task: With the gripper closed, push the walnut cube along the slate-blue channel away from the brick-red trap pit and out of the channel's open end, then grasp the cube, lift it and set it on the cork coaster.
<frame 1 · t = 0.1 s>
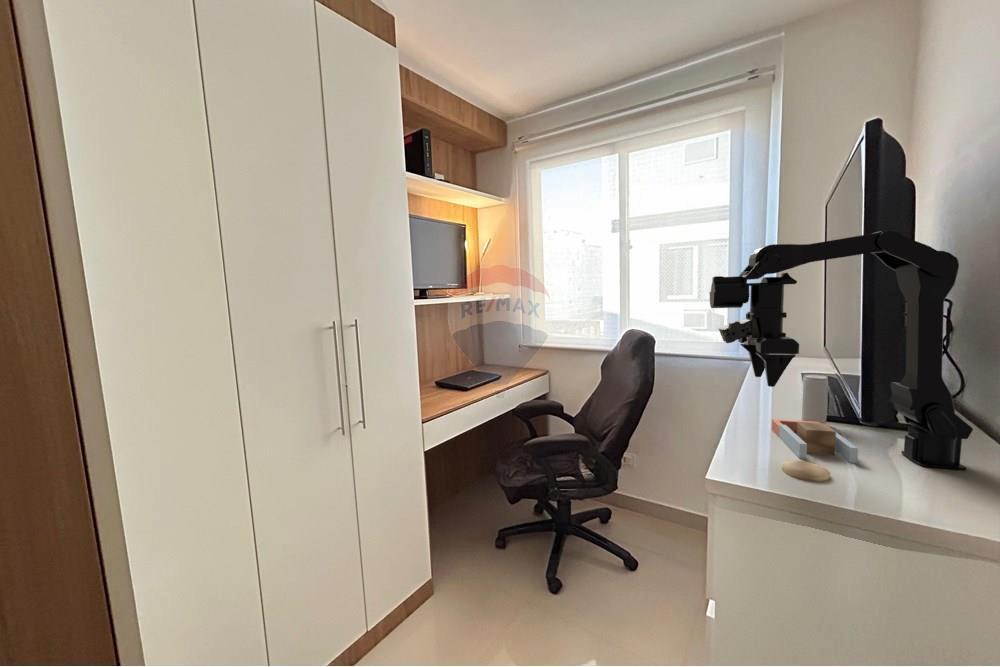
hand: (764, 381, 84), 15 cm above the dresser top, fingers open, 9 cm apart
cork coaster: (805, 472, 74), on the dresser top
beverage can: (813, 424, 99), on the dresser top
walnut block: (814, 449, 84), on the dresser top
channel: (814, 449, 84), on the dresser top
trap pit: (799, 435, 92), on the dresser top
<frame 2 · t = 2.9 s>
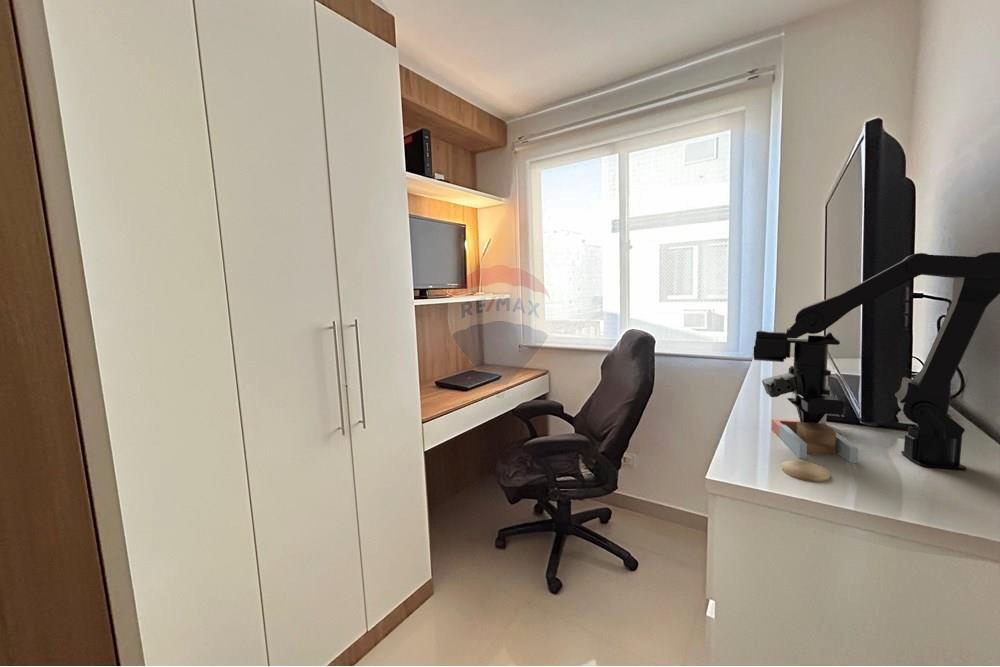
hand: (806, 433, 88), 2 cm above the dresser top, fingers closed
walnut block: (814, 449, 84), on the dresser top, touching gripper
everything else where it was.
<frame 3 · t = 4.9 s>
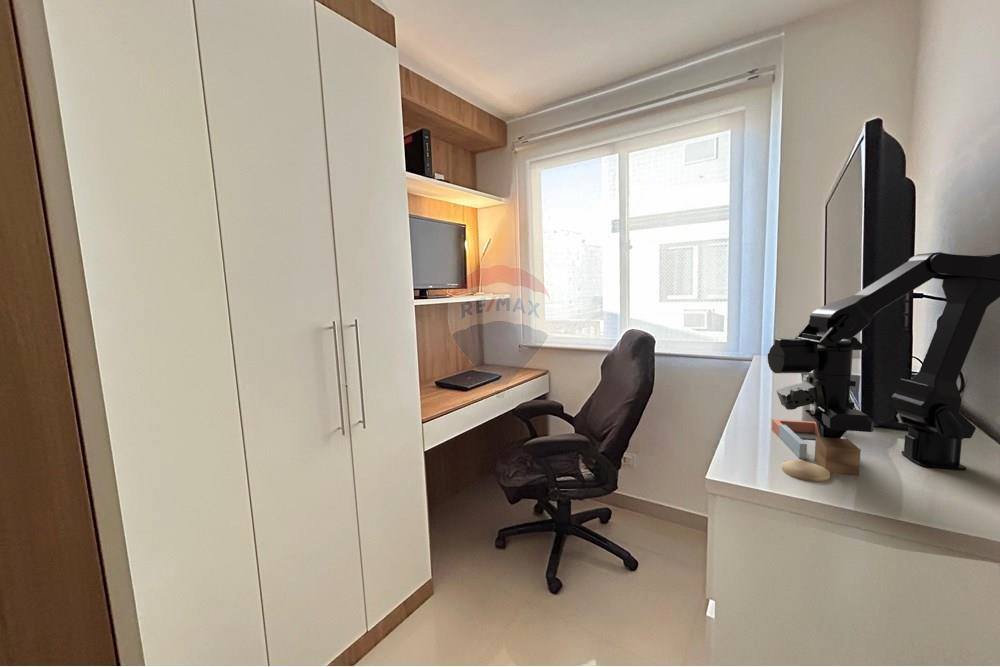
hand: (827, 450, 79), 2 cm above the dresser top, fingers closed
walnut block: (835, 468, 75), on the dresser top, touching cork coaster, gripper
everything else where it was.
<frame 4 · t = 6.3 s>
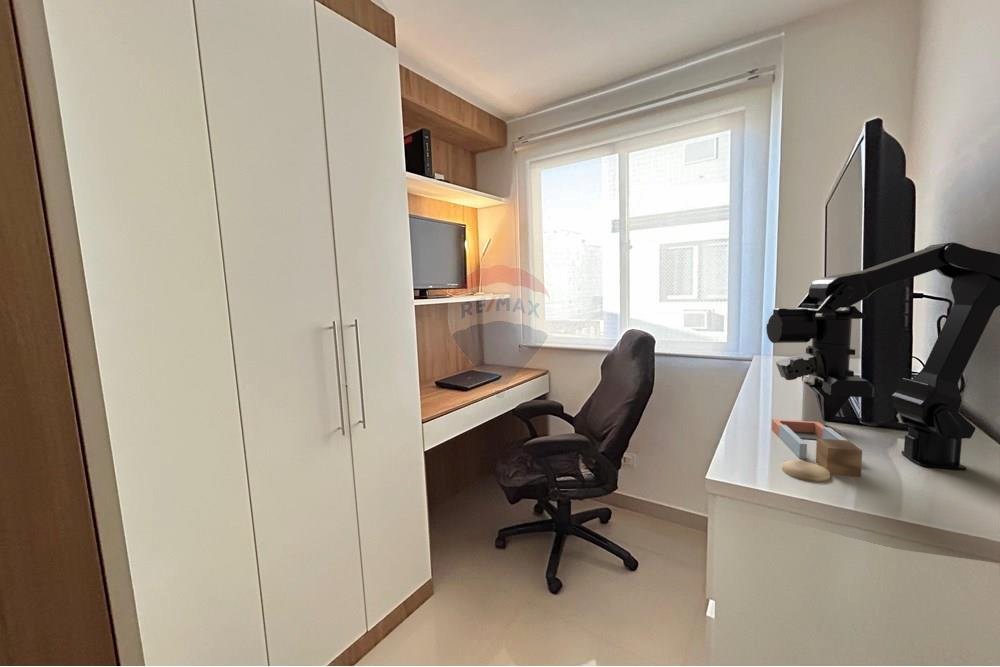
hand: (826, 421, 78), 8 cm above the dresser top, fingers closed
walnut block: (837, 469, 75), on the dresser top
everything else where it was.
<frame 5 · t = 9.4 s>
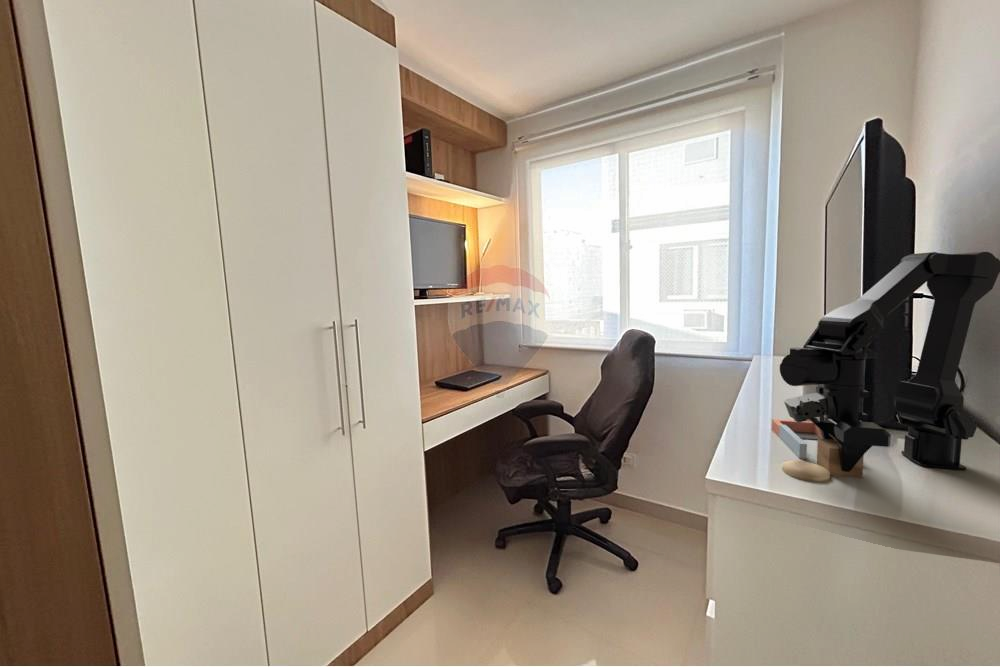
hand: (838, 465, 74), 1 cm above the dresser top, fingers closed on walnut block, 5 cm apart
walnut block: (838, 470, 74), on the dresser top, touching gripper
everything else where it was.
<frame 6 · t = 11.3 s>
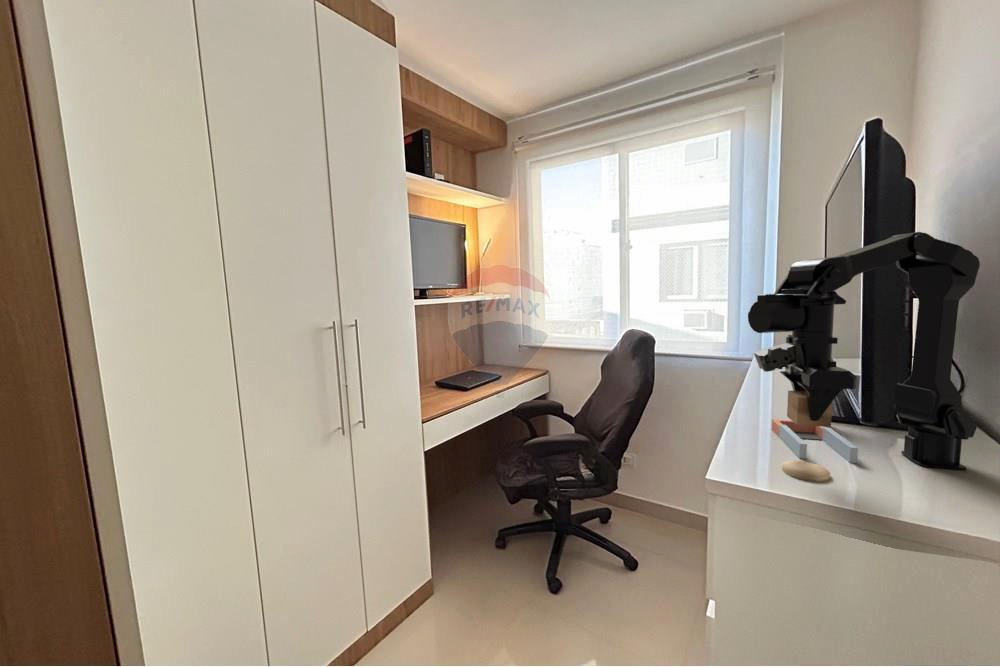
hand: (808, 415, 73), 11 cm above the dresser top, fingers closed on walnut block, 5 cm apart
walnut block: (807, 421, 73), point 10 cm above the dresser top, touching gripper
everything else where it was.
when the fingers open (3 cm above the dresser top, at t = 13.0 s): walnut block drops 1 cm, resting on cork coaster.
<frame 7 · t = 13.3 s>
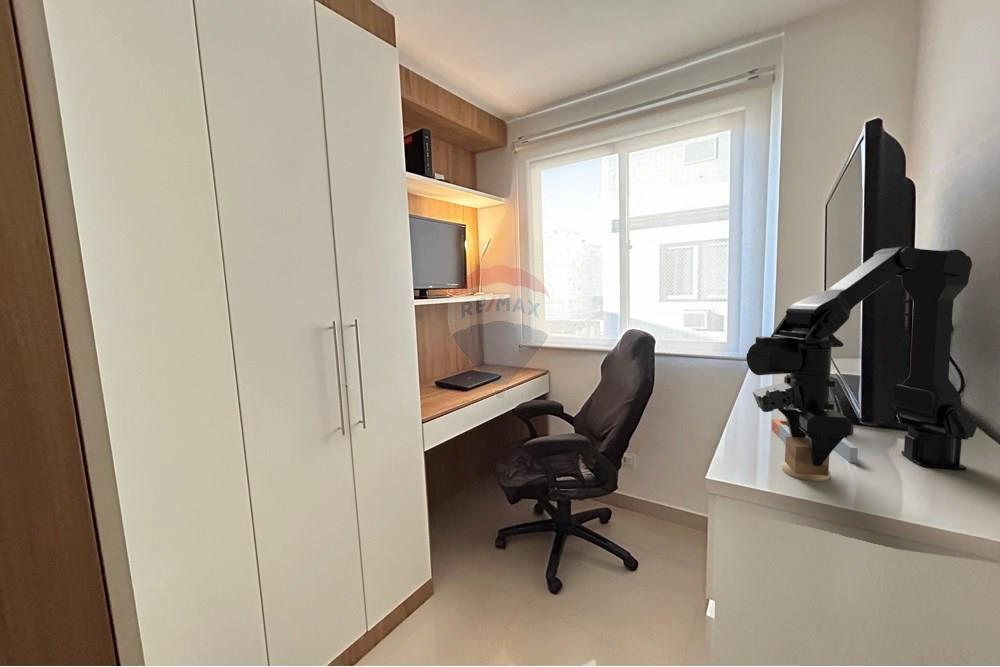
hand: (806, 455, 74), 3 cm above the dresser top, fingers open, 9 cm apart
walnut block: (805, 468, 74), point 1 cm above the dresser top, touching cork coaster
everything else where it was.
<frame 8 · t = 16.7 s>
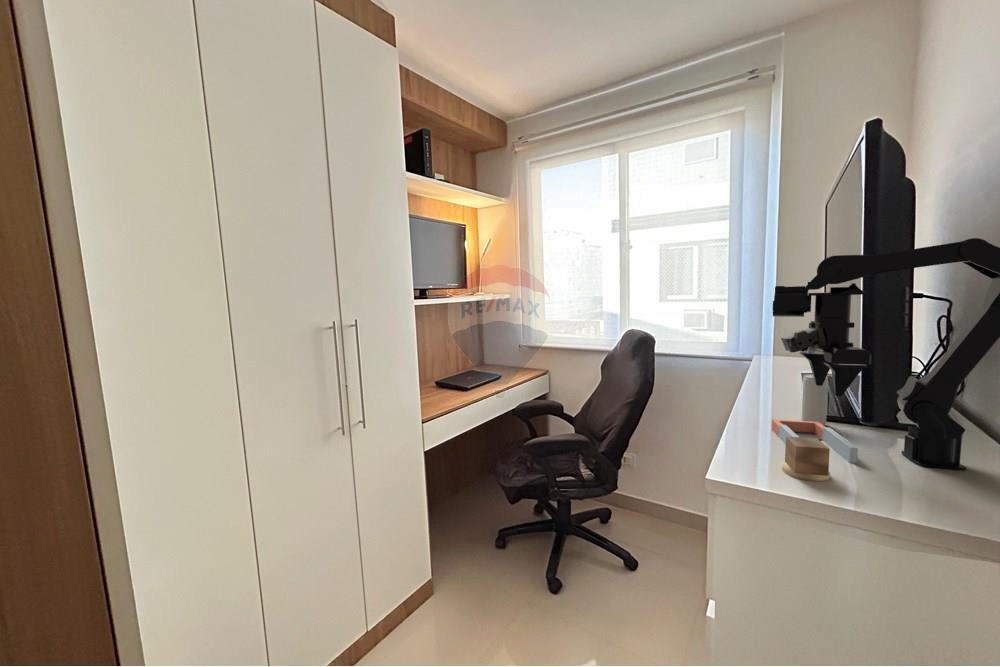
hand: (828, 390, 85), 12 cm above the dresser top, fingers open, 9 cm apart
nothing on the dresser top moved.
at the end: walnut block 0.1 cm off-centre on the cork coaster, point 0.8 cm above the cork coaster's base; walnut block tilted 0°; the gripper is holding nothing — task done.
